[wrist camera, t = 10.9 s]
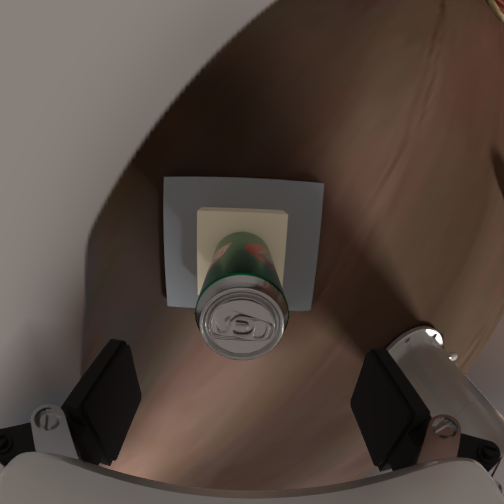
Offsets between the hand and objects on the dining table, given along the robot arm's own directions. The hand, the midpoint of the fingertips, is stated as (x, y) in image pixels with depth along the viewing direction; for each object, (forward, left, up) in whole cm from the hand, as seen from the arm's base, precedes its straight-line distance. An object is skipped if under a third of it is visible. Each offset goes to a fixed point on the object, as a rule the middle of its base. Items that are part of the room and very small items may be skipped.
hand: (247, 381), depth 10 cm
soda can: (0, 0, -16) cm, 16 cm away
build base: (0, 0, -20) cm, 20 cm away
